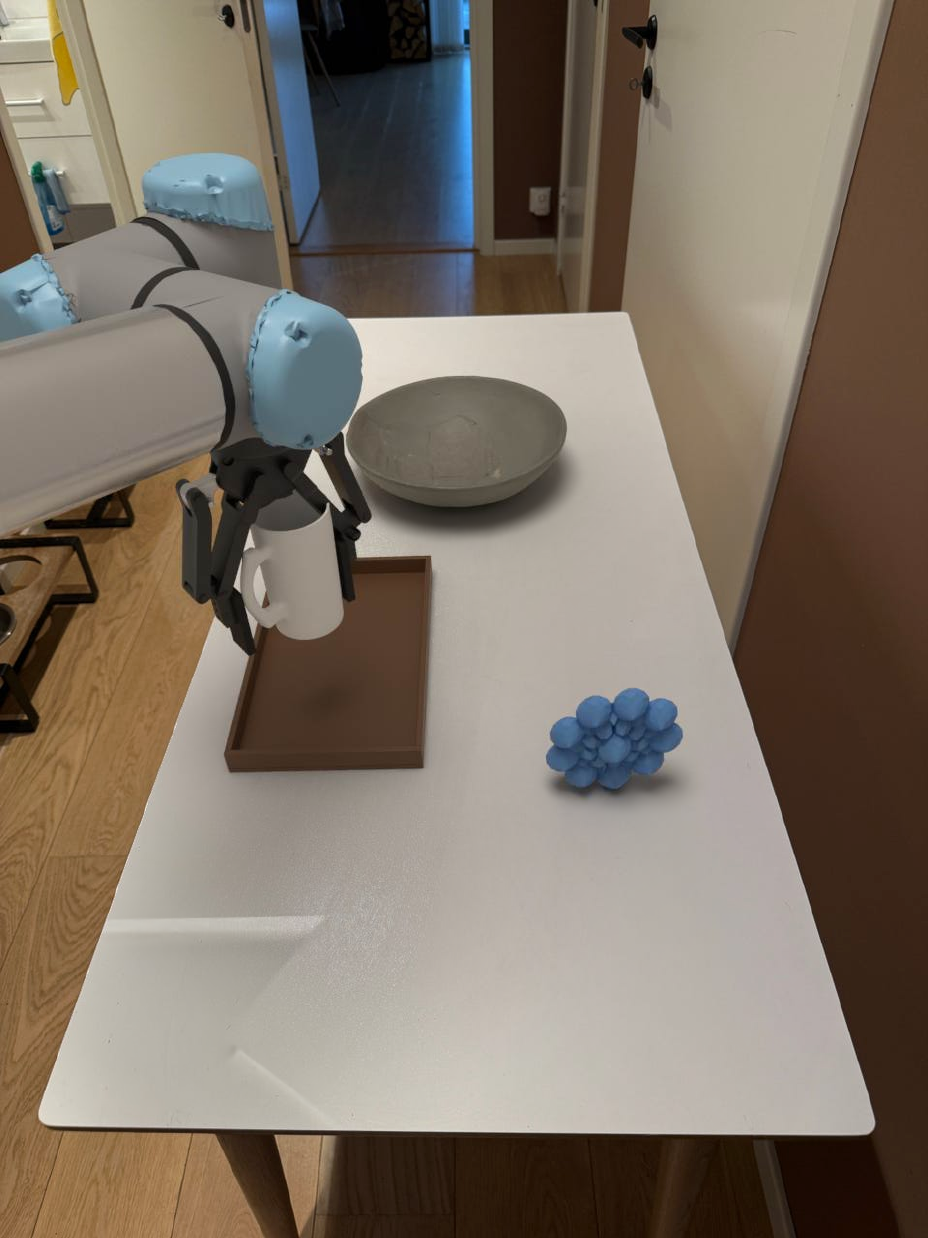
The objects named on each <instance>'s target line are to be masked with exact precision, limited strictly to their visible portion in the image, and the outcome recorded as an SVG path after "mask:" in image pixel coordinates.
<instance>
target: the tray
mask: <svg viewBox="0 0 928 1238" xmlns="http://www.w3.org/2000/svg"><path fill="white" fill-rule="evenodd" d="M351 571H352V578H353V584H354V591H355V597H356V599H355V600H353V601H351V602H347V601H346V600H345V599H344V598H343V597H342V602H343V610H344V615H343V619H342V621H341V623H340V624H339V626H338V627H337V628H336V629H335V630H333V631H332V632H331V633H329V634H327V635H325V636H323V637H320V638H316V639H310V640H298V639H293V638H290V637H287V636H285V635H284V634H282V633H281V632H280V631H279V630H278V628H277V626H276V624H275V625H273V626H272V627H271V628H266V627H264V626H261V625H260V624H259V623H258V622H257V624H256V627H255V630H254V635H253V640H254V644H255V648H256V651H257V653H255V654H253V655H251V656H248V657H247V658H248V659H247V662H246V666H245V671H244V674H243V678H242V681H241V685H240V689H239V694H238V698H237V702H236V706H235V709H234V712H233V717H232V721H231V724H230V729H229V733H228V736H227V740H226V745H225V748H224V752H223V758H224V760H225V763H226V766H227V769H228V772H229V773H243V772H244V773H246V772H249V773H250V772H285V771H286V772H288V771H289V772H290V771H291V772H293V771H335V770H378V769H380V770H381V769H382V770H384V769H386V770H387V769H418V768H419V769H423V768H424V761H425V743H426V741H425V740H426V723H427V722H426V719H427V718H426V717H427V701H428V700H427V699H428V698H427V697H428V679H429V678H428V675H429V655H430V654H429V652H430V632H431V630H430V629H431V612H432V589H433V586H432V585H433V561H432V555H429V554H428V555H403V556H402V555H401V556H400V555H399V556H363V557H359V556H357V559H356V562H355V563H353V564H351ZM269 605H270V603H269V599H268V595H267V591H266V590H265V592H264V596H263V600H262V605H261V607H262V608H263V609H264V608H266V607H268V606H269Z"/></svg>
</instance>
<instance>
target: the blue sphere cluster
mask: <svg viewBox="0 0 928 1238" xmlns="http://www.w3.org/2000/svg"><path fill="white" fill-rule="evenodd" d="M678 715H679V713H678V706H677V705H676V704H675V703H674V702H673V701H672V700H671V699H667V698H665V697H662V698H661V697H660V698H659V697H658V698H654V699H652V700H651V701H650V696H649V694H648V693H646V691H645V690H642V689H640V688H637V687H628V688H626V689H624V690H621V691H620V692H619V693H618V694H617V695H615V697H614V700H613V702H611V701H610V699H608V698H607V697H605V696H602V695H599V694H598V695H597V694H596V695H595V694H594V695H593V694H592V695H590V696H587V697H586V698H584V700H581V702H580V703H579V704H578V706H577V708H576V710H575V716H564V717H561V718H559V719H558V720H557V721H556V722H555V723H554V724H553V725H552V726H551V727H550V730H549V739H550V741H551V743H552V744H553V745H552V746H550V747H549V748H548V750H547V753H546V755H545V759H546V760H545V763H546V765H547V766H548V767H549V768H550V770H553V771H555V772H557V773H558V772H559V773H564V779H565V780H566V781H567V783H568V784H569V785H571V786H572V787H575V788H586V787H588V786H590V785H591V784H592V783H593V782H595V780H596V779H597V781H598V782H599V784H600V785H601V786H602V787H605V788H606V789H612V790H615V789H620V788H621V787H623V786H625V784H626V783H628V781H629V780H630V779H631V776H632V774H633V773H635V774H637V775H640V776H651V775H653V774H655V773H656V772H658V770H660V769H661V768H662V766H663V764H664V762H665V754H666V753H667V754H668V753H670V752H672V751H674V750H675V749H676V748H677V747H679V746H680V744H681V742H682V741H683V738H684V732H683V728H682V726H680V725H679V724H678V722H676V719H677V718H678ZM632 772H633V773H632Z"/></svg>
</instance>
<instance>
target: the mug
mask: <svg viewBox="0 0 928 1238" xmlns="http://www.w3.org/2000/svg"><path fill="white" fill-rule="evenodd" d="M322 493H323V492H322ZM323 494H324V495H325V496H326V497H327V495H326V494H325V493H323ZM326 505H327V506H326V510H325V512H324V514H323V515H322V516H321V515H320V514H319V513H318V512H316V511H315V510H314V509H313V508H312V507H311V506H310V505H309V504H308V503H307V502H306V501H305V500H304V499H303V498H302V497H301V496H300V495H299V494H298V493H297V492H296V491H295V490H293V494H292V495H290V496H288V497H286V498H281V499H276V500H275V501H273V502H272V503H271V504H269V505H268V506H266V507H264V508H262V509H259V512H258V516H257V520H256V522H255V523H254V524H252V525H251V526H250V530H249V531H250V534H251V537H252V541H253V546H254V547H252V546H251V547H248V548H247V549H246V550H245V549H244V551H243V555H242V559H241V564H240V565H241V566H240V574H239V575H240V576H239V587H240V588H239V589H240V590H239V591H240V593H241V594H242V597H243V601H244V605H245V608H246V611H247V612H249V614H250V615H251V616H252V618H254V620H255V621H256V622H257V623H259V624H260V625H261V626H264V627H266V628H271V627H272V626H273V625H275V624H276V626H277V628H278V630H279V631H280V632H281V633H282V634H284V635H285V636H287V637H290V638H293V639H298V640H310V639H316V638H320V637H323V636H325V635H327V634H329V633H331V632H332V631H333V630H335V629H336V628H337V627H338V626H339V624H340V623H341V621H342V619H343V615H344V610H343V602H342V593H341V584H340V577H339V570H338V563H337V555H336V548H335V540H334V532H333V525H332V519H331V513H330V508H329V503H327V504H326ZM259 568H260V571H261V572H260V573H261V575H262V579H263V584H264V588H265V592H266V591H267V595H268V599H269V603H270V605H269V606H268V607H266V608H264V609H263V608H262V605H261V604H260V603H259V601H258V599H257V597H256V595H255V590H254V589H255V588H254V580H255V576H256V572H257V570H258V569H259Z"/></svg>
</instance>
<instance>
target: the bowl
mask: <svg viewBox="0 0 928 1238" xmlns="http://www.w3.org/2000/svg"><path fill="white" fill-rule="evenodd" d="M567 433H568V423H567V418H566V416H565V413H564V411H563V410H562V408H561V407H560V406H559V405H558V404H557V403H556V401H555V400H553V399H552V398H551V397H550V396H548V395H547V394H545V393H544V392H542V391H540V390H539V389H535V388H533V387H532V386H531V387H530V386H529V385H525V384H522V383H519V382H516V381H512V380H508V379H503V378H497V377H489V376H482V375H481V376H480V375H447V376H439V377H431V378H427V379H426V378H425V379H421V380H417V381H413V382H410V383H406V384H403V385H400V386H397V387H395V388H392V389H390V390H388V391H385V392H383V393H381V394H379V395H377V396H375V397H374V398H372V399H370V400H368V402H366V403H364V404H363V405H361V406H360V407H359V408H358V409H356V411H354V413H353V414H352V416H351V418H350V420H349V423H348V428H347V432H346V433H345V445H346V448H347V449H346V450H347V452H348V453H349V456H350V457H351V458H352V460H353V462H354V463H355V464H356V465H357V467H358V468H359V469H360V471H362V473H363V474H364V475H365V476H366V477H367V478H368V479H370V480H371V481H372V482H373V483H374V484H375V485H377V486H378V487H380V488H381V489H383V490H384V491H386V492H387V493H390V494H392V495H394V496H396V497H398V498H400V499H404V500H407V501H411V502H413V503H418V504H422V505H426V506H432V507H449V508H452V507H453V508H469V507H474V506H482V505H488V504H492V503H497V502H500V501H504V500H506V499H509V498H511V497H513V496H515V495H517V494H519V493H520V492H522V491H524V489H526V488H528V487H529V486H530V485H531V484H532V483H534V482H535V481H536V480H537V479H539V477H541V476H542V475H543V474H544V473H545V472H546V471H548V469H549V468H550V467H551V466H552V465H553V464H554V462H555V461H556V460H557V458H558V457H559V455H560V454H561V452H562V449H563V447H564V445H565V442H566V438H567Z"/></svg>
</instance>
